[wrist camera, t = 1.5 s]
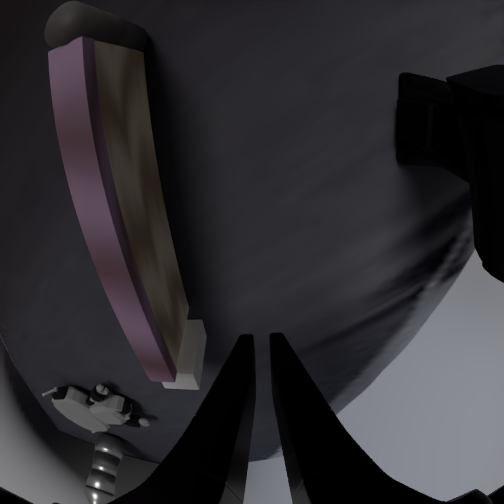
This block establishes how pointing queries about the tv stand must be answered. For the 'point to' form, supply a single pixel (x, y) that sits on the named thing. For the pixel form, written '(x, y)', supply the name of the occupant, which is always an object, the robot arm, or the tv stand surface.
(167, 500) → the robot arm
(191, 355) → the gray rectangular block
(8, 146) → the tv stand surface
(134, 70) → the beige flat panel
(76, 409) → the robot toy
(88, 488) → the plastic bottle
